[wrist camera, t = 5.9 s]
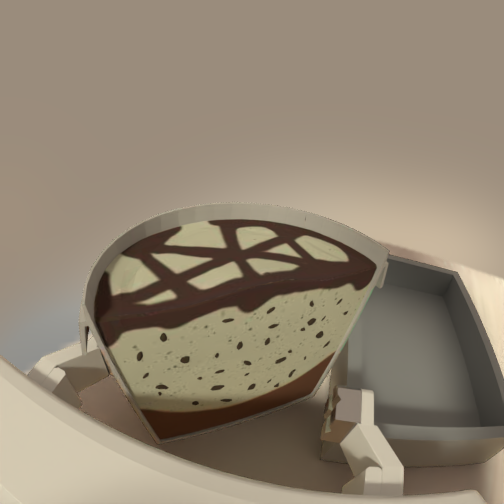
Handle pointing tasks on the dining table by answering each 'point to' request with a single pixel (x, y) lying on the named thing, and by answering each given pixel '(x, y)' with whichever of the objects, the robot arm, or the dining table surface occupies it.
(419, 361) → the bin
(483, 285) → the dining table surface
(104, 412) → the dining table surface
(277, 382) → the ice cream cake half
